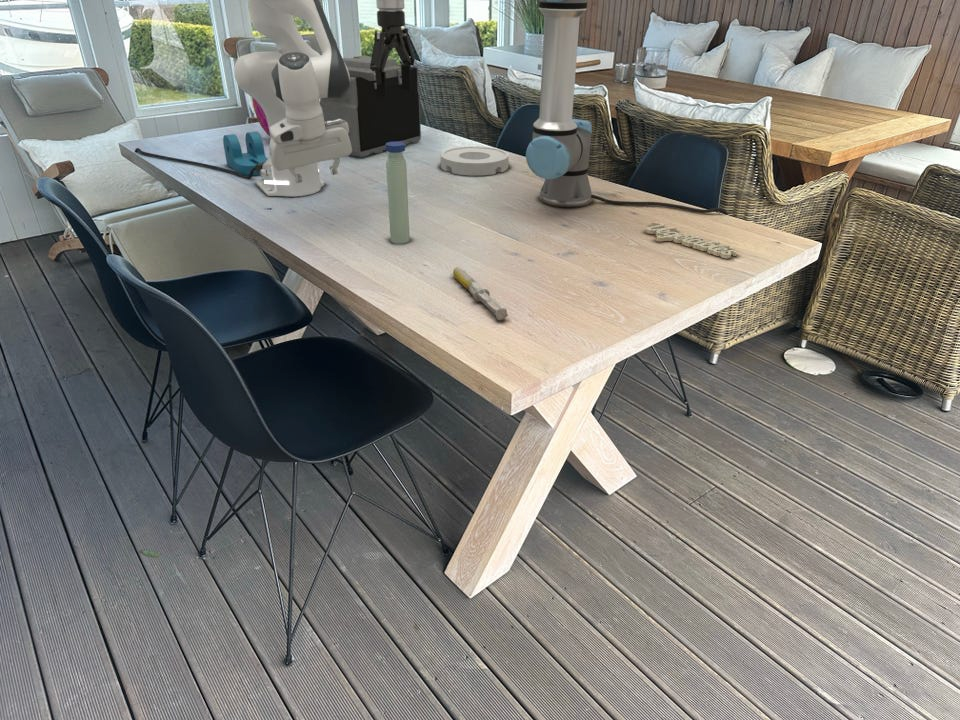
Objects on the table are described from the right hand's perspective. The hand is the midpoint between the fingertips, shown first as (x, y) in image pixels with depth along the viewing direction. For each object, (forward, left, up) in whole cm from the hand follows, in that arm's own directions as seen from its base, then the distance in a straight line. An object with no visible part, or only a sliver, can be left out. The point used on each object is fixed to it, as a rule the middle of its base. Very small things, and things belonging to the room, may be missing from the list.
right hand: (394, 93), depth 197 cm
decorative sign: (-88, +7, -28) cm, 93 cm away
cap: (-23, +38, -4) cm, 44 cm away
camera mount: (+56, +2, -28) cm, 63 cm away
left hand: (+2, +36, -16) cm, 40 cm away
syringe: (-55, +59, -28) cm, 85 cm away
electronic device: (+38, -43, -28) cm, 64 cm away
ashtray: (-9, -34, -28) cm, 45 cm away
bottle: (-23, +38, -28) cm, 52 cm away
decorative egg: (+72, -35, -28) cm, 85 cm away
